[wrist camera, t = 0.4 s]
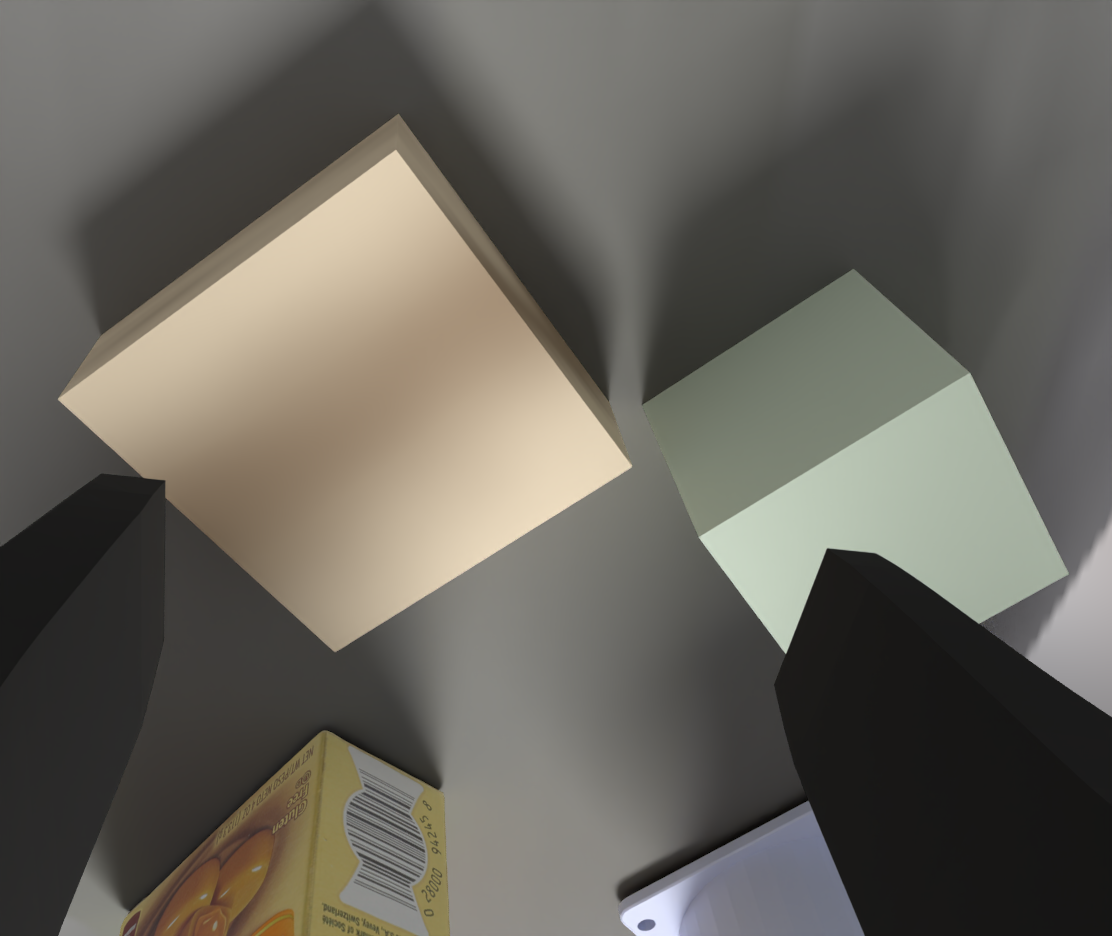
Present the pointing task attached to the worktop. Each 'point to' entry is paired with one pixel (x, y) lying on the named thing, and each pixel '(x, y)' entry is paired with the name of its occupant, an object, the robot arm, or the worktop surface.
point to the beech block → (353, 394)
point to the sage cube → (850, 461)
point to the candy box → (314, 857)
